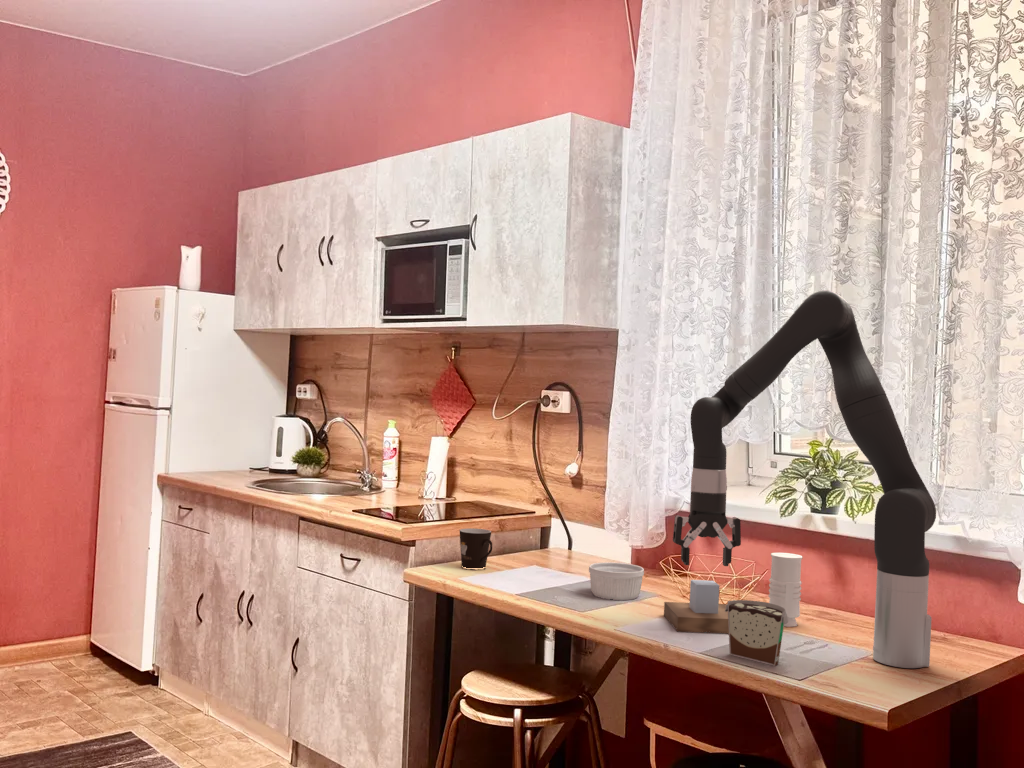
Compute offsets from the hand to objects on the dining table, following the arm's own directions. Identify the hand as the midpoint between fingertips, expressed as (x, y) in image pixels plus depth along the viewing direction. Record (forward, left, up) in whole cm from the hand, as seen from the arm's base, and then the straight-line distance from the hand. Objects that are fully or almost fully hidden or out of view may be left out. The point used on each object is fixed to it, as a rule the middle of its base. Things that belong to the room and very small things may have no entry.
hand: (705, 565), depth 204 cm
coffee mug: (+49, -52, -13) cm, 73 cm away
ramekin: (+15, -26, -13) cm, 33 cm away
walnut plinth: (0, 0, -13) cm, 13 cm away
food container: (-5, +24, -13) cm, 28 cm away
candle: (-19, -4, -13) cm, 23 cm away
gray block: (0, 0, -10) cm, 10 cm away
